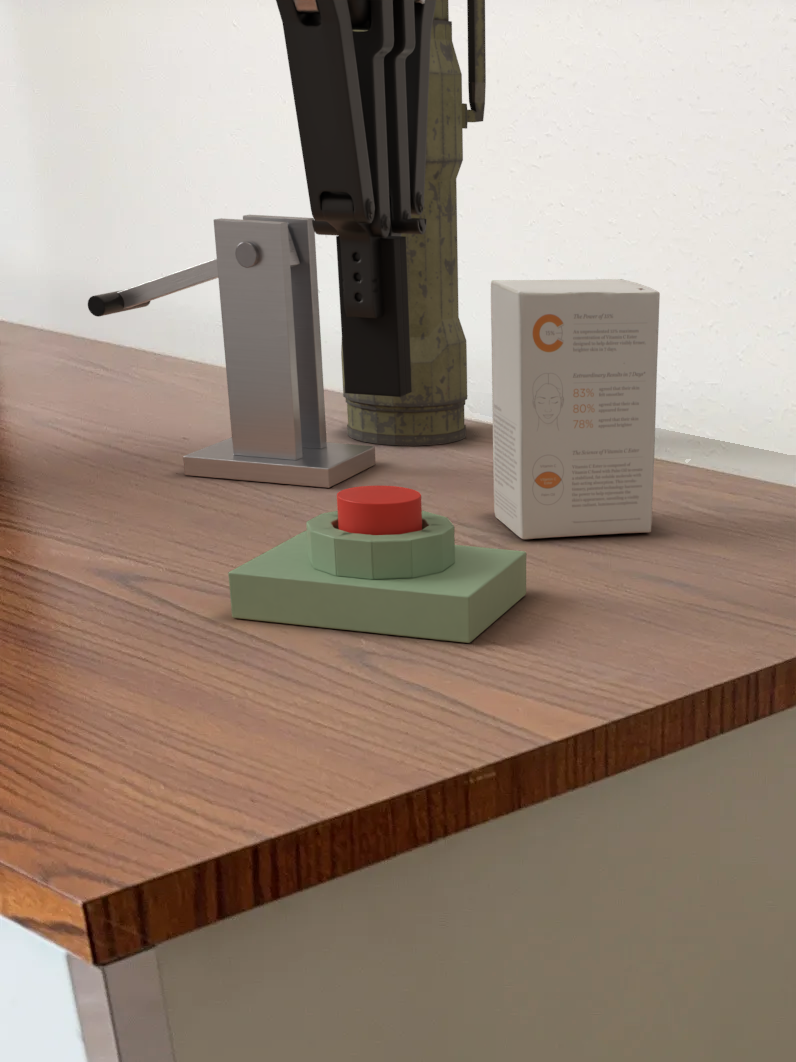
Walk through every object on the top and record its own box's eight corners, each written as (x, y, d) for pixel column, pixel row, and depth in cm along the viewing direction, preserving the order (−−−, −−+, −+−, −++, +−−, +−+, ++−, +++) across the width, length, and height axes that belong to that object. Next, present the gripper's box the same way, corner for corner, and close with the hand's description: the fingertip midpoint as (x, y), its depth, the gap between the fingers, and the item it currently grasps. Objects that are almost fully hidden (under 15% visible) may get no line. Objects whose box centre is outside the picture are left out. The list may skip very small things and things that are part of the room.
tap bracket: (184, 475, 106) (158, 218, 98) (238, 452, 113) (218, 210, 105) (329, 488, 104) (314, 227, 96) (376, 464, 111) (365, 218, 103)
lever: (96, 328, 104) (80, 288, 103) (142, 318, 109) (128, 279, 108) (272, 269, 99) (258, 226, 98) (312, 261, 104) (299, 220, 103)
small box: (618, 510, 101) (625, 277, 94) (653, 534, 96) (663, 290, 89) (490, 516, 99) (488, 277, 92) (519, 541, 93) (519, 290, 87)
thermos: (312, 426, 122) (277, -157, 104) (464, 420, 126) (456, -142, 108) (341, 449, 115) (309, -172, 97) (502, 442, 119) (499, -156, 101)
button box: (231, 618, 79) (223, 532, 77) (307, 572, 86) (302, 494, 84) (469, 643, 76) (468, 556, 74) (526, 594, 84) (526, 514, 82)
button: (325, 537, 78) (323, 499, 77) (357, 519, 82) (355, 482, 81) (404, 544, 77) (403, 506, 76) (434, 526, 81) (432, 489, 80)
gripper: (376, -286, 58) (405, 420, 70) (491, -224, 69) (499, 378, 81) (181, -282, 60) (242, 409, 71) (324, -222, 70) (356, 368, 82)
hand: (378, 392), depth 76 cm, fingers closed
